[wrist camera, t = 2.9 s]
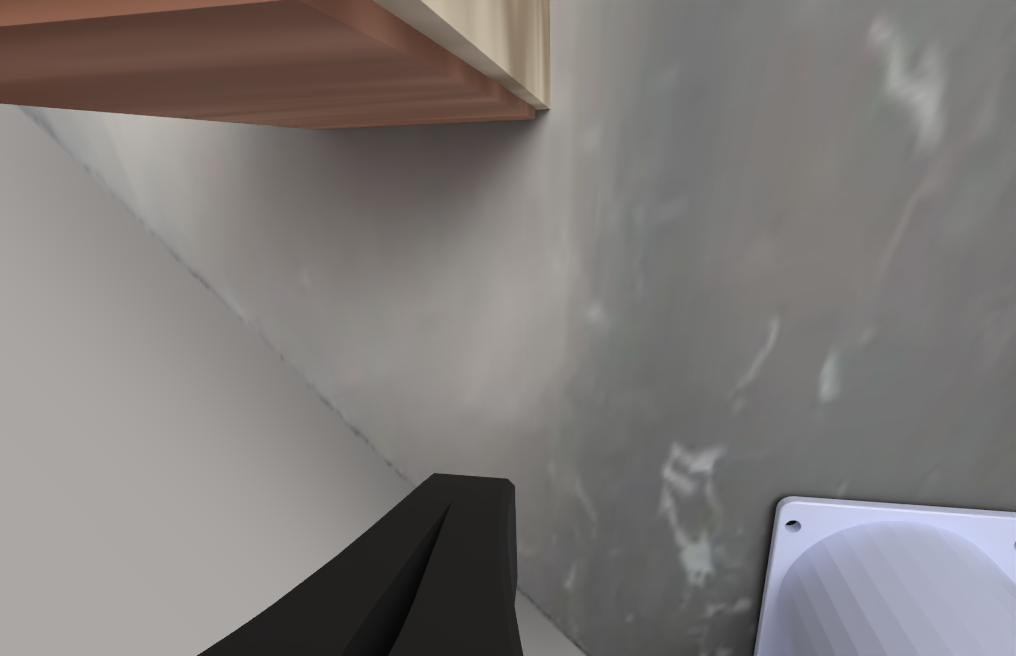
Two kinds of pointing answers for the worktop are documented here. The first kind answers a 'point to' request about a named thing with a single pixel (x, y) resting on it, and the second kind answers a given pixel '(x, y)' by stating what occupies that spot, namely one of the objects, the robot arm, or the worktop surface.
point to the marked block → (281, 59)
